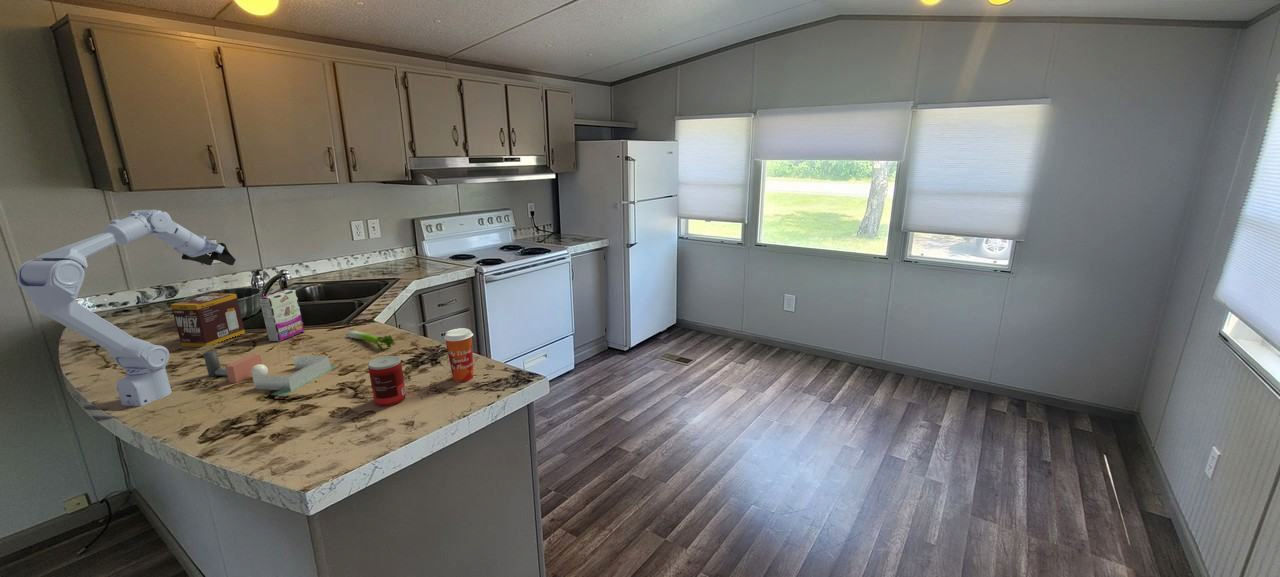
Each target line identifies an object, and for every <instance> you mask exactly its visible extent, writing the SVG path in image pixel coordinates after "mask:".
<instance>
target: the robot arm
mask: <svg viewBox="0 0 1280 577" xmlns="http://www.w3.org/2000/svg"><path fill="white" fill-rule="evenodd" d="M148 235H151V236H154V237H156V238H158V239H159V240H161V241H163V242H165V243H166V244H168V245H170V246H171V247H173V248H172V251H174V252H175V253H177V254H182V255H181V259H182V260H186V261H191V262H193V261H194V262H197V263H200V264H204V265H206V266H212V264H213V262H214V261H218V262H221V263H224V264H226V265H228V266H234V264H235V262H236V258H235V257H234V256H233V254H231V253H230V252H229V250H228V248H227V245H226V243H224V242H218V243H215V242H213V241H210V240H207V236H206V235H202V234H199V235H197V234H195V233H194V232H192V231H190V230H188V229H187V228H185V227H184V226H182V225H181V224H179V223H178V222H175V221H174V220H172V217H171V216H170V214H169V213H168V212H167V211H162V210H160V209H139V210H132V211H131V212H130V213H129V214H128V216H127V217H124V218H122V219H112V220H110V221H109V224H107V225H105V226H104V228H103V231H102V232H100V233H98V234H96V235H93V236H90V237H88V238H85V239H82V240H79V241H76V242H74V243H71V244H67V245H65V246H62V247H59V248H57V249H54V250H50V251H48V252H45V253H42V254H40V255H38V256H36V257H35V259H31V260H26V261H25V262H24V263H22V264H21V265H20V266H18V267H19V268H18V269H17V273H16V274H17V276H16V278H17V282H16V284H17V285H18V286H19V287H21V288H22V289H23V290H24V291H26V293H27V295H28V296H29V297H30V300H31V301H32V303H33V304H34V305H35V308H36V309H37V310H38V311H39V313H41V314H42V315H45V316H46V317H49V318H50V319H52V320H53V321H55V322H57V323H59V324H60V325H63V327H66V328H68V329H70V330H71V331H73V332H75V333H77V334H78V335H80V336H82V337H84V338H86V339H87V340H89V341H91V342H93V343H94V344H96V345H98V346H99V347H101V348H103V349H105V350H106V351H108V356H109V357H110V358H112V359H113V360H114V361H115V363H116V365H117V366H118V367H120V368H122V369H124V372H125V373H127V374H126V375H125V376H124V377H123V378H120V379H119V380H117V382H116V390H117V393H118V396H119V399H120V402H121V403H120V404H121V406H133V407H137V406H138V407H143V406H144V405H147V404H149V403H152V402H154V401H157V400H160V399H162V398H165V397H168V396H169V395H170V394H172V393H173V392H172V389H171V385H170V381H169V377H168V374H167V370H166V367H167V364H168V362H169V360H170V352H169V350H168V348H167V347H165V346H163V345H157V344H153V343H152V342H149V341H148V340H144V339H139V338H136V337H134V336H133V335H131V334H129V333H127V332H126V331H124V330H123V329H121V328H119V327H118V326H116V325H114V324H113V323H111V322H109V321H107V320H106V319H104V317H103V318H102V317H101V316H100V315H98V314H96V313H94V311H91V310H90V309H88V308H86V307H85V306H84V305H81V304H80V303H78V302H77V301H76V299H77V297H78V294H79V292H80V290H81V287H82V285H83V283H84V281H85V279H84V278H85V275H86V274H85V269H88V267H89V264H88V261H87V258H90V257H91V256H93V255H96V254H97V253H100V252H101V251H104V250H105V249H107V248H109V247H112V246H113V245H117V246H126V245H129V244H130V243H133V242H135V241H138V240H140V239H142V238H144V237H147V236H148ZM210 253H211V254H210Z"/></svg>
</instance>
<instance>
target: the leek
mask: <svg viewBox="0 0 1280 577" xmlns="http://www.w3.org/2000/svg"><path fill="white" fill-rule="evenodd" d="M345 337H346V338H348V337H350V338H349V339H352V338H354V339H353V340H355V339H356V340H362V341H365V342H370V343H371V344H372V343H373V344H375V345H376V346H377V352H379V351H380V349H381V351H382V352H385V350H384V347H383V346H382V345H383V344H385V345H386V347H389V348H391V347H392V346H395V345H396V342H395V340H394V339H393V336H391V335H390V334H389V335H388V336H383V337H381V336H380V337H379V336H378V337H377V336H376V335H372V334H369V333H365V332H362V331H358V330H350V331H348V332H347V333H346V336H345ZM380 343H381V344H380Z"/></svg>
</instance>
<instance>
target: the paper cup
mask: <svg viewBox="0 0 1280 577" xmlns="http://www.w3.org/2000/svg"><path fill="white" fill-rule="evenodd" d="M473 336H474V333H473V332H472V331H471V329H469V328H466V327H465V328H464V327H463V328H462V327H460V328H454V329H450V330H448V331H446V332H445V335H444V337H443V339H444V341H445V344H446V349H447V357H448V359H449V366H450V371H451V375H452V379H453V381H454V382H456V381H457V383H464V382H463V381H465V382H468V381H471V380H472V379H473V378H474V355H473V354H474V353H473V338H472V337H473ZM470 379H471V380H470Z"/></svg>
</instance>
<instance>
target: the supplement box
mask: <svg viewBox="0 0 1280 577" xmlns="http://www.w3.org/2000/svg"><path fill="white" fill-rule="evenodd" d="M181 301H182V300H181ZM181 301H179V302H178V301H177V302H175V303H171V304H170V307H171V311H172V314H173V315H172V316H173V318H174V322H175V326H176V329H177V333H178V337H179V341H180V345H181V347H186V348H187V347H189V348H204V347H206V346H207V347H209V346H210V347H211V345H212V346H214V345H213V344H215V345H217V344H216V343H218V342H220V343H222V342H221V341H223V342H225V341H224V340H226V339H228V340H230V339H229V338H231V339H233V338H232V337H234V338H236V337H239V336H241V335H240V334H242V335H243V334H246V330H245V328H244V323H243V318H241V313H240V309H239V304H238V300H237V295H236V294H222V293H211V294H207V295H204V296H200V297H197V298H193V299H189V300H186V301H182V302H181ZM238 335H239V336H238ZM235 336H236V337H235ZM226 341H227V340H226ZM218 344H219V343H218Z"/></svg>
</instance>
